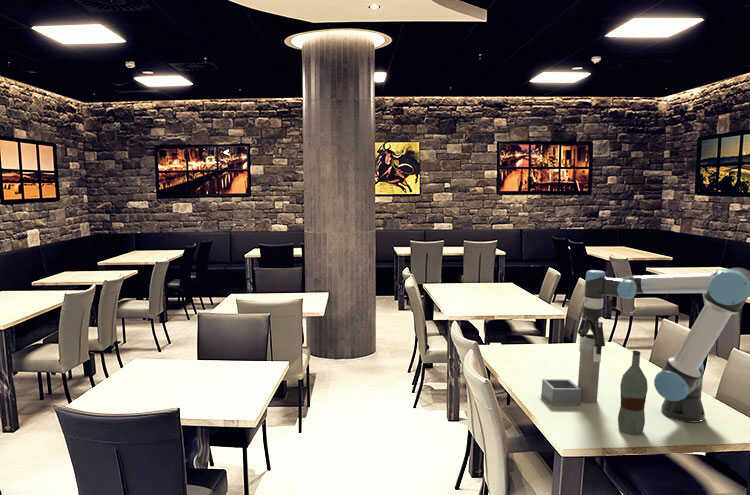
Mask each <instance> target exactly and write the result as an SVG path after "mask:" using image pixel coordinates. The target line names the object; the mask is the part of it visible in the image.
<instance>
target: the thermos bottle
mask: <svg viewBox="0 0 750 495" xmlns="http://www.w3.org/2000/svg"><path fill="white" fill-rule="evenodd" d="M585 337H586V338H585V341H584V342H583V344H582V346H581V348H580V352H579V363H578V364H579V365H578V379H577V386H578V387H579V388H580V389H581V402H583V403H588V404H593V403H594V404H595V403H597V402H598V393H599V392H598V390H599V378H600V364H601V362H594V361H593V358H594V345H595V341H594V337H593V333H591V334H588V333H587V335H585Z"/></svg>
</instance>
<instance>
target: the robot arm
mask: <svg viewBox="0 0 750 495" xmlns="http://www.w3.org/2000/svg"><path fill="white" fill-rule="evenodd" d="M584 282H585V283H584V297H583V299H582V300H583V311H582V316H581V320H580V324H579V327H578V331H577V334H579V346H578V348H579V350H578V351H579V353H580V348H581V346H582V344H583V342H584V341H585V338H586V337H585V335H587V334H588V333H589V331H590V332H592V333H591V334H592V335H593V337H594V341H595V345H594V358H593V361H594V362H600V363H601V361H602V360H601V359H602V348H603V347H605V346H606V341H605V336H604V328H603V324H604V323H603V322H602V321H599V319H601V318H602V317H603V311H604V310H603V308H604V296H609V297H610V296H611V297H616V298H622V299H628V300H630V299H633V298H634V297H635V296H636V295H638V294H704V296H703V298H704V299H703V300H704V301H705V304H704V306H703V307H702V309H701V311H700V312H699V314H698V316H697V318H696V319H695V321H694V323H693V325H692V326H691V328H690V329H689V332H688V333H687V335H686V337H685V338H684V340H683V342H682V344H681V346H680V347H679V349H678V351H677V352H676V354H675V355H674V356H671V357H669V358H668V359H667V361H666V362H665V364H664V366H663V367H662V369H661V371H659V372H658V373H656V375H655V377H654V380H653V385H654V388H655V391H656V392H657V394H658V395H660V396H661V398H664V400H663V402H662V404H661V408H660V409H661V410H660V411H661V413H662V414H663V415H664V416H665V417H668V418H670V417H671V419H673V418H674V419H673V420H676V419H678V420H677V421H680V420H684V421H683V422H685V421H700V420H703V419H704V420H705V416H706V414H705V409H704V406H703V401H702V390H703V382H704V372H705V369H704V367H705V365H704V362H705V359H706V357H707V356H708V354H709V353H710V351H711V349H712V348H713V346H714V344H716V341H717V339H718V338H719V337H720V335H721V333H722V331H723V330H724V328H725V326H726V324H727V322H729V319H730V318H731V317H732V315H737V314H738V313H740V311H741V310H742V308H743V306H744V305H745V303H746V301H747V299H748V298H750V270H749V269H746V268H744V267H731V268H728V269H717V270H714V271H712V272H709V273H708V272H706V273H705V272H702V273H681V274H680V273H678V274H677V273H676V274H675V273H674V274H673V273H672V274H650V275H649V274H644V275H636V274H631V275H627V276H624V277H620V278H618V277H610V276H609V277H608V276H606V272H605V271H603V270H597V269H595V270H594V269H590V270H587V271H586V273H585V279H584Z"/></svg>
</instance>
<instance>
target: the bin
mask: <svg viewBox="0 0 750 495" xmlns="http://www.w3.org/2000/svg"><path fill="white" fill-rule="evenodd" d="M541 380H542V381H541V382H542V383H541V396H542V397H543V398H544V399H545V401H547V402H548V404H549V405H551V406H552V407H553V406H555V407H557V406H558V407H566V406H567V407H581V402H582V401H581V389H580V388H579V387H578V384H576V383H575V382H574V381H572V380H571V379H566V378H565V379H564V378H563V379H560V378H559V379H557V378H556V379H554V378H553V379H552V378H551V379H548V378H543V379H541Z"/></svg>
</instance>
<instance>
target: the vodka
mask: <svg viewBox="0 0 750 495" xmlns="http://www.w3.org/2000/svg"><path fill="white" fill-rule="evenodd" d="M640 361H641V351H639V350H632V358H631V365H630V366H629V367H628V369H626V371H624V373H623V374H622V377H621V381H620V406H619V411H618V415H617V425H618V429H619V430H620V432H623V433H625V434H627V433H628V434H627V435H631V434H633V436H638V435H639V434H640V435H642V434H643V432H644V428H645V424H646V418H645V416H646V415H645V407H646V406H645V405H646V399H647V394H648V388H649V386H648V379H647V377H646V375H645V373H644V372H643V370H642V369H641V367H640V365H641V364H640ZM640 435H639V436H640Z"/></svg>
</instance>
